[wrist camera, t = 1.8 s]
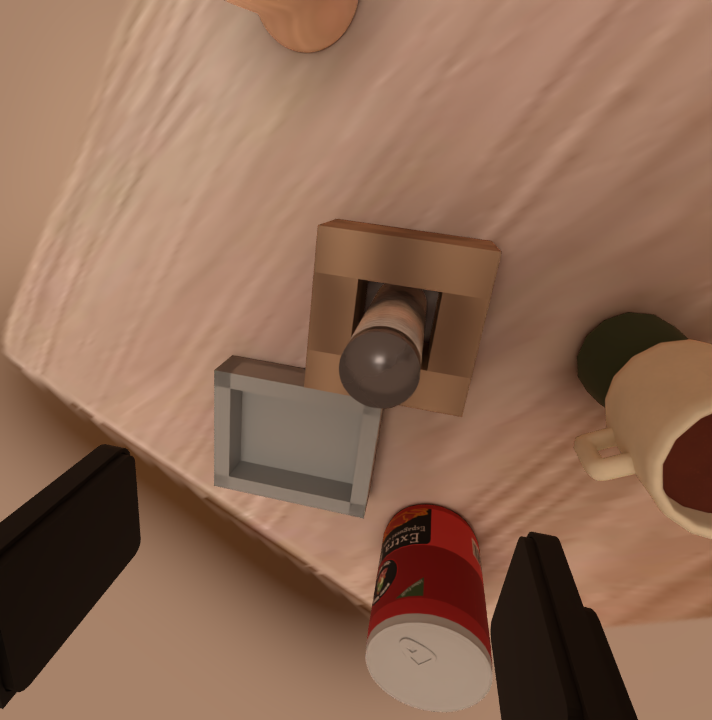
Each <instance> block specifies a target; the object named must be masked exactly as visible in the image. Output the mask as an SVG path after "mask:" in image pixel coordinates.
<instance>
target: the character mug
mask: <svg viewBox="0 0 712 720" xmlns="http://www.w3.org/2000/svg"><path fill="white" fill-rule="evenodd" d="M577 365H578V378H579V379H580V381H581V382H582V384H583V386H584V387H585V389H586V390H587V392H588V393H589V394H590V395H591V396H592V397H593V398H594V399H595V400H596V401H597V402H598V403H600V404H601V405H602V406H603V407H605V412H606V428H605V429H601V430H598V431H594V432H590V433H586V434H583V435H580V436H578V437H576V438H575V442H574V450H575V452H576V454H577V456H578V458H579V460H580V462H581V464H582V466H583V468H584V470H585V472H586V473H587V474H588V475H590V476H591V477H592V478H593V479H594V480H596V481H606V480H611V479H615V478H619V477H624V476H628V475H632V474H635V475H636V476H637V477H638V479H639V480H640V481H641V483H642V484H643V486H644V487H645V488H646V490H647V491H648V493H649V494H650V496H651V497H652V499H653V500H654V502H655V503H656V505H657V507H658V508H659V509H660V511H661V512H662V513H663V514H664V515H665V516H667V517H668V518H669V519H671V520H672V521H674V522H675V523H677V524H678V525H680V526H681V527H682V528H684V529H685V530H687V531H688V532H690V533H692V534H695V535H698V536H702V537H705V538H709V539H712V344H709V343H705V342H701V341H697V340H692V339H688V338H687V337H686V336H684V335H683V334H682V333H681V332H680V331H679V330H678V329H677V328H676V327H674V326H673V325H671V324H669V323H667V322H666V321H664V320H662V319H660V318H659V317H657V316H655V315H651V314H640V313H625V314H622V315H619V316H616V317H613V318H610V319H607V320H604V321H603V322H602V323H601V324H600V325H599V326H598V327H596V328H595V329H594V330H593V331H592V332H591V333H590V334H589V335H587V336H586V338H585V341H584V343H583V345H582V347H581V349H580V352H579V354H578V356H577ZM616 446H617V447H618V449H619V451H620V452H621V454H619V455H615V456H611V457H606V458H602V457H601V455H600V454H599V452H598V451H599V450H603V449H608V448H612V447H616Z"/></svg>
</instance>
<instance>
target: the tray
mask: <svg viewBox="0 0 712 720" xmlns="http://www.w3.org/2000/svg"><path fill="white" fill-rule="evenodd" d="M304 381H305V369H304V368H299V367H293V366H288V365H282V364H277V363H271V362H266V361H261V360H255V359H250V358H244V357H239V356H233V355H232V356H231V357H230V358H229V359H227V360H226V361H225V362H224V363H223V364H221V365H220V366H219V367H218V368H217V369H215V370H214V486H218V487H222V488H227V489H231V490H236V491H240V492H245V493H250V494H254V495H259V496H263V497H268V498H273V499H277V500H282V501H286V502H291V503H295V504H300V505H305V506H309V507H314V508H318V509H323V510H327V511H332V512H337V513H341V514H346V515H350V516H355V517H360V518H364V515H365V511H366V506H367V502H368V498H369V493H370V487H371V481H372V475H373V468H374V462H375V456H376V450H377V444H378V438H379V432H380V426H381V420H382V414H383V408H372V407H368V406H366V405H363V404H361V403H359V402H358V401H356V400H355V399H354V398H352V397H351V396H348V395H342V394H337V393H332V392H326V391H321V390H316V389H310V388H305V387H304Z"/></svg>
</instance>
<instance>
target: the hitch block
mask: <svg viewBox="0 0 712 720" xmlns="http://www.w3.org/2000/svg"><path fill="white" fill-rule="evenodd" d="M501 253H502V252H501V251H500V250H499V249H498V248H497V246H496V245H495V244H494V243H493V242H492V241H487V240H480V239H473V238H466V237H459V236H452V235H445V234H438V233H432V232H425V231H418V230H411V229H404V228H397V227H390V226H383V225H376V224H369V223H362V222H355V221H348V220H341V219H335V220H332V221H329V222H326V223H323V224H320V225H318V229H317V241H316V253H315V264H314V276H313V287H312V299H311V311H310V322H309V334H308V346H307V357H306V369H305V381H304V387H305V388H310V389H316V390H321V391H326V392H332V393H337V394H342V395H348V396H350V395H349V394H348V392H347V391H346V390H345V388H344V387H343V385H342V382H341V380H340V376H339V362H340V358H341V355H342V353H343V351H344V349H345V347H346V346H347V344H348V342H349V341H350V339H351V337H352V335H353V334H354V332H355V330H356V328H357V327H358V325H359V323H360V321H361V320H362V318H363V316H364V309H365V302H366V294H367V287H368V281H375V282H381V283H387V284H394V285H400V286H406V287H413V288H419V289H425V290H432V291H438V292H439V294H438V300H437V305H436V310H435V315H434V320H433V325H432V330H431V335H430V340H429V344H428V343H423V351H422V361H421V371H420V380H419V383H418V386H417V388H416V390H415V391H414V393H413V394H412V395H411V397H410V398H408V399H407V400H406V401H405V402H403V403H401V404H399V405H401V406H406V407H411V408H417V409H422V410H427V411H433V412H438V413H443V414H449V415H454V416H459V417H462V414H463V410H464V406H465V402H466V398H467V394H468V390H469V385H470V381H471V377H472V373H473V369H474V365H475V361H476V356H477V352H478V348H479V344H480V340H481V336H482V332H483V327H484V323H485V319H486V315H487V311H488V307H489V302H490V298H491V294H492V290H493V286H494V282H495V278H496V273H497V269H498V265H499V261H500V257H501Z"/></svg>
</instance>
